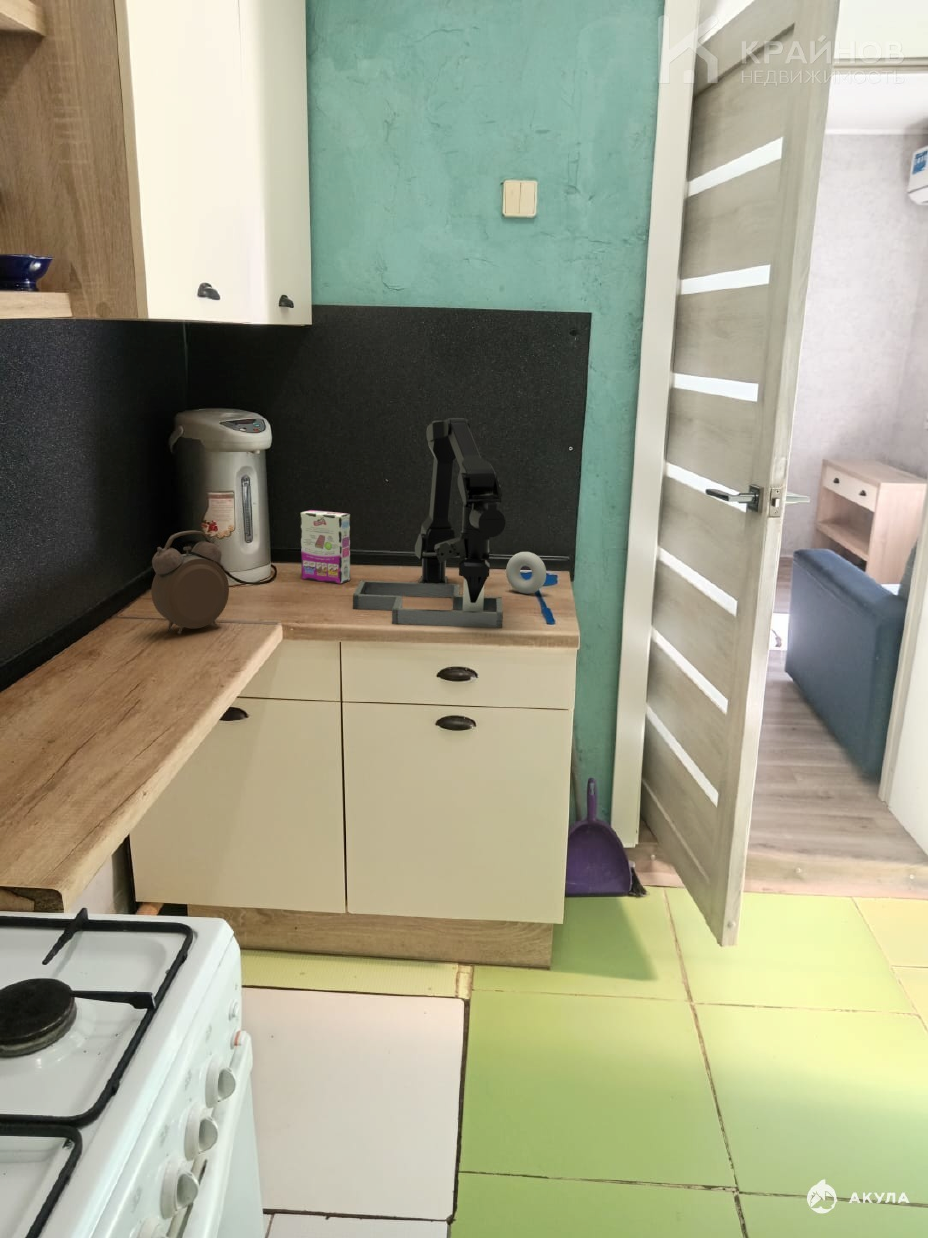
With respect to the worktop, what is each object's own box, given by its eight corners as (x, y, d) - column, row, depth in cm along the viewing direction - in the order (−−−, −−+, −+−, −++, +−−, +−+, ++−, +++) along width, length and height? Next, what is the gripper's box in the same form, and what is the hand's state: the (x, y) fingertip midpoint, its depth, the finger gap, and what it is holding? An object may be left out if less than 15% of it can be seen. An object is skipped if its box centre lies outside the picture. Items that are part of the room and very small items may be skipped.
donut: (547, 594, 231) (549, 553, 228) (542, 598, 228) (544, 555, 225) (508, 588, 235) (510, 547, 232) (502, 591, 232) (504, 550, 229)
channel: (360, 592, 227) (360, 580, 226) (500, 598, 227) (501, 585, 226) (346, 621, 205) (346, 608, 204) (502, 627, 204) (502, 613, 203)
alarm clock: (213, 619, 203) (209, 523, 198) (232, 627, 198) (229, 529, 193) (148, 632, 194) (142, 532, 188) (166, 641, 189) (160, 538, 183)
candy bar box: (351, 580, 238) (351, 513, 234) (341, 584, 234) (341, 516, 229) (311, 574, 242) (310, 508, 238) (300, 579, 238) (299, 511, 233)
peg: (462, 609, 213) (463, 569, 210) (483, 610, 212) (484, 570, 210) (462, 615, 208) (463, 574, 206) (483, 616, 208) (484, 575, 206)
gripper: (439, 517, 214) (437, 587, 219) (435, 535, 196) (433, 610, 201) (490, 519, 214) (487, 589, 218) (490, 537, 196) (487, 612, 201)
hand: (473, 599), depth 210 cm, fingers closed on peg, 4 cm apart
